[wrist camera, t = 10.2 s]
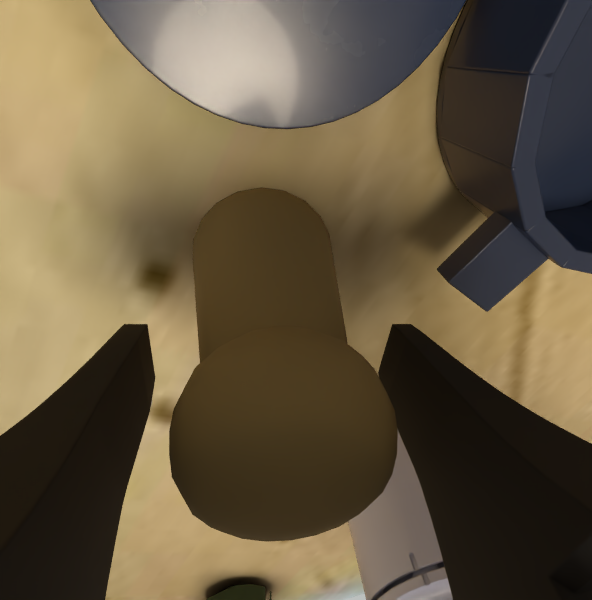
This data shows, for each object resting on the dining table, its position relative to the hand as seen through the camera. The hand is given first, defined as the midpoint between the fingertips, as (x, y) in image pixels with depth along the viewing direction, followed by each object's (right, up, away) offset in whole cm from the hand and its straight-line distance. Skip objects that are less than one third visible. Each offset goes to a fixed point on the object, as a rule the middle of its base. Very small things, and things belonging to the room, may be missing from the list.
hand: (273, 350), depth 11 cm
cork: (-1, +4, +5) cm, 7 cm away
